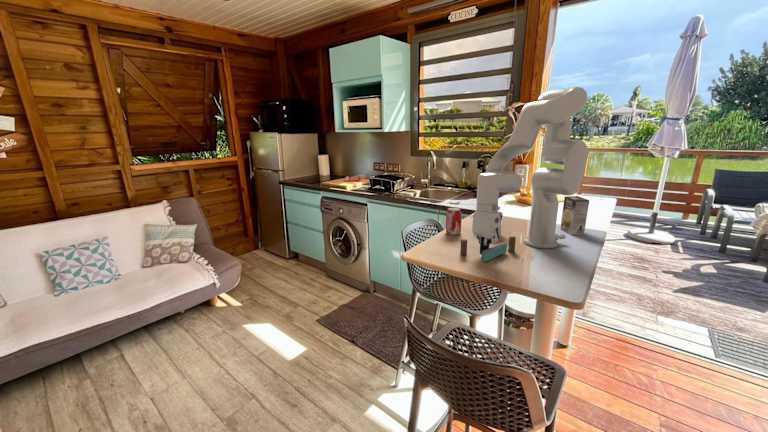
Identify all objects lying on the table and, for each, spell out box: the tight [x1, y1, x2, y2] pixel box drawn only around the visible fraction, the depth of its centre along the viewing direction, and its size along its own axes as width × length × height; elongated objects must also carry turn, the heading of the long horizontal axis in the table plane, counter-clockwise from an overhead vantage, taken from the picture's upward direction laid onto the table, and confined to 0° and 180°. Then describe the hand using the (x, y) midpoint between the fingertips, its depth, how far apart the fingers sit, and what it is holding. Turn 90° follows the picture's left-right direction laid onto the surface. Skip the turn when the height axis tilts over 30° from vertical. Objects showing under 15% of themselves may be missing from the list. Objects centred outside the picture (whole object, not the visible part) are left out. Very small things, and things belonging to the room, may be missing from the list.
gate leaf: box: [481, 241, 508, 263], centre depth 114 cm, size 14×2×4 cm, turn 128°
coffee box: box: [559, 195, 590, 236], centre depth 139 cm, size 9×6×16 cm
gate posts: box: [459, 235, 517, 257], centre depth 118 cm, size 22×2×6 cm, turn 96°
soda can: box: [445, 206, 462, 236], centre depth 142 cm, size 7×7×12 cm
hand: (484, 253), depth 115 cm, fingers closed
